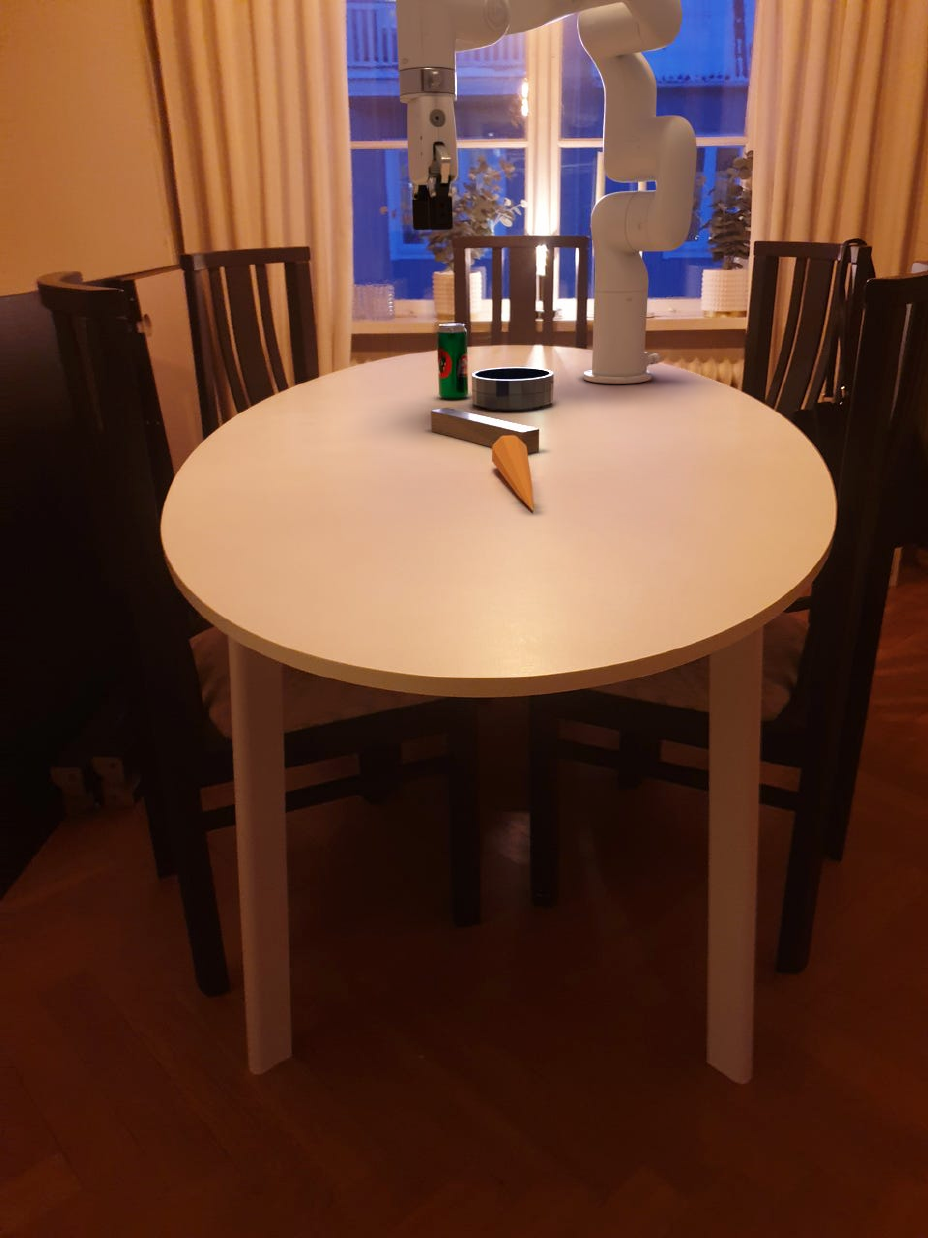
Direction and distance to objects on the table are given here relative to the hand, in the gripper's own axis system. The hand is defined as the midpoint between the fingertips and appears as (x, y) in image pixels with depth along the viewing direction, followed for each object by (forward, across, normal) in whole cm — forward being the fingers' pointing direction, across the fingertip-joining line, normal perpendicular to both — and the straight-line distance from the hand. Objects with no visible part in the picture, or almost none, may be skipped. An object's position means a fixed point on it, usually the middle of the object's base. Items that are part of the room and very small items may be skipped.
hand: (432, 229), depth 125 cm
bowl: (+27, +9, -15) cm, 32 cm away
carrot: (+27, -38, 0) cm, 47 cm away
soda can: (+27, +19, -8) cm, 34 cm away
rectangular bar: (+27, -14, -3) cm, 30 cm away
